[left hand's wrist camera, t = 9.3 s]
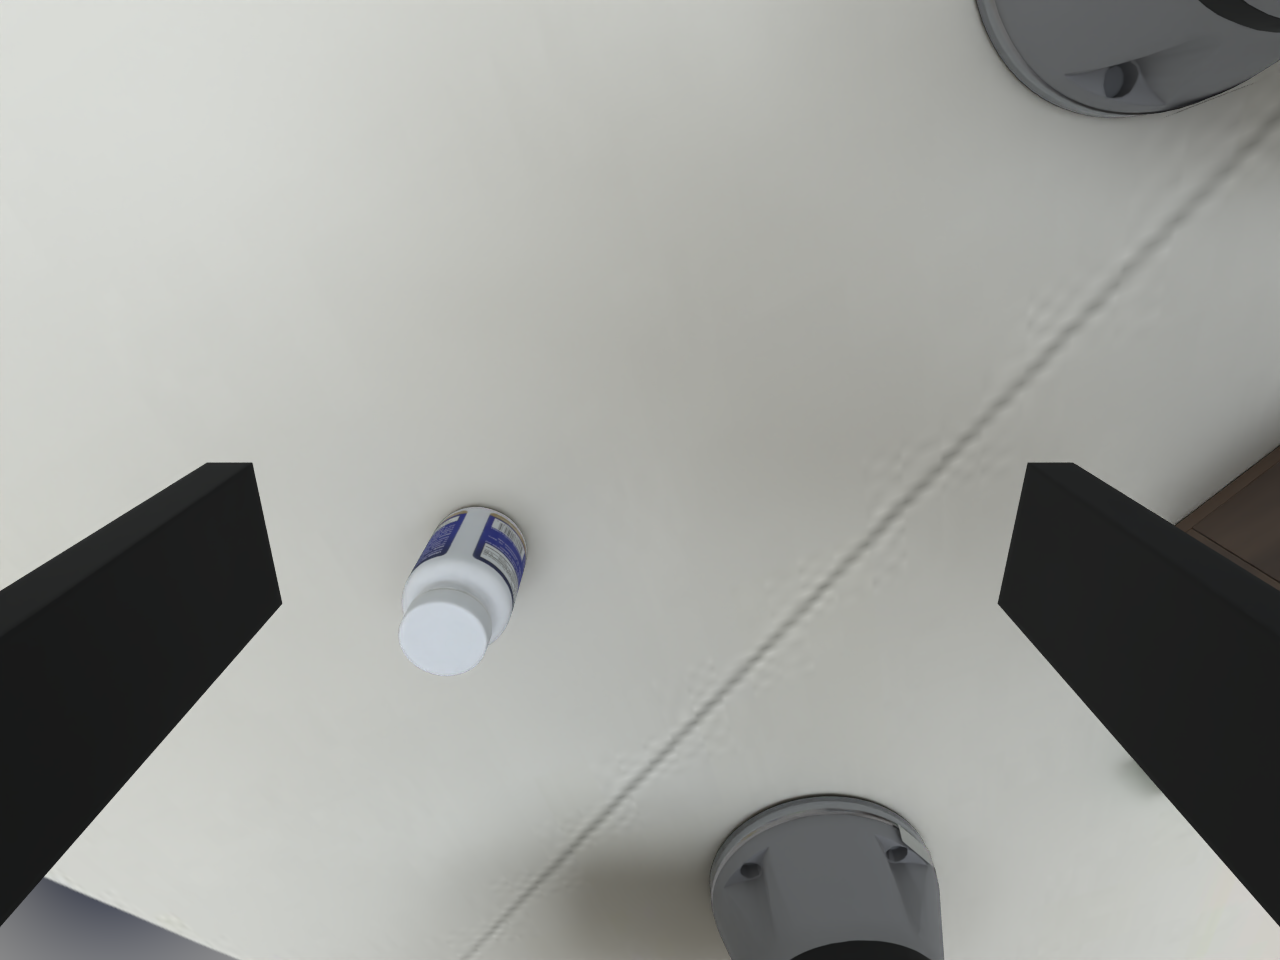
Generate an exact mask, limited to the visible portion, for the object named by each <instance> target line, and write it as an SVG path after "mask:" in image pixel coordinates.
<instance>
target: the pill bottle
mask: <svg viewBox="0 0 1280 960" xmlns="http://www.w3.org/2000/svg"><path fill="white" fill-rule="evenodd" d="M526 557H527V547H526V542H525V539H524V537H523V534H522V532H521V531H520V529H519V528H518V527H517V525H516V524H515V523H514V522H513V521H512V520H511V519H509V518H508V517H507V516H505V515H504V514H502V513H499V512H497V511H495V510H492V509H488V508H483V507H469V508H464V509H460V510H458V511H455V512H453V513H452V514H450V515H449V516H447V517H446V518H445V519H444V520H443V521H442V522H441V523H440V524H439V525H438V527H437V529H436V530H435V532H434V533H433V535H432V537H431V539H430V541H429V542H428V544H427V546H426V548H425V549H424V551H423V553H422V555H421V556H420V558H419V560H418V562H417V563H416V565H415V567H414V569H413V571H412V572H411V574H410V576H409V578H408V580H407V582H406V584H405V587H404V590H403V594H402V610H403V614H404V617H403V619H402V621H401V624H400V627H399V636H398V637H399V643H400V646H401V648H402V651H403V652H404V654H405V655H406V657H407V658H408V659H409V660H410V661H411V662H412V663H413V664H414V665H415V666H417V667H418V668H420V669H422V670H424V671H426V672H429V673H432V674H435V675H442V676H451V675H458V674H462V673H464V672H467V671H469V670H470V669H472V668H474V667H475V666H476V665H477V664H478V663H479V662H480V661H481V659H482V658H483V656H484V654H485V652H486V649H487V647H488V645H489V644H491V643H492V642H494V641H495V640H496V639H497V638H498V637H499V636H500V635H501V634H502V632H503V631H504V629H505V628H506V626H507V624H508V622H509V619H510V617H511V613H512V610H513V607H514V603H515V600H516V596H517V592H518V589H519V585H520V582H521V578H522V574H523V571H524V567H525V563H526Z"/></svg>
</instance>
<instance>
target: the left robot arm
mask: <svg viewBox="0 0 1280 960" xmlns="http://www.w3.org/2000/svg"><path fill="white" fill-rule="evenodd" d="M281 605H282V600H281V595H280V591H279V586H278V581H277V577H276V572H275V567H274V562H273V558H272V553H271V548H270V544H269V539H268V534H267V530H266V525H265V520H264V515H263V511H262V506H261V501H260V497H259V492H258V487H257V482H256V478H255V473H254V468H253V464H252V463H206V464H204V465H202V466H201V467H199V468H198V469H196V470H194V471H193V472H191V473H190V474H188V475H186V476H185V477H183V478H182V479H180V480H178V481H177V482H175V483H173V484H172V485H170V486H169V487H167V488H165V489H164V490H162V491H161V492H159V493H157V494H156V495H154V496H153V497H151V498H149V499H148V500H146V501H144V502H143V503H141V504H140V505H138V506H136V507H135V508H133V509H132V510H130V511H128V512H127V513H125V514H124V515H122V516H120V517H119V518H117V519H115V520H114V521H112V522H111V523H109V524H107V525H106V526H104V527H103V528H101V529H99V530H98V531H96V532H95V533H93V534H91V535H90V536H88V537H86V538H85V539H83V540H82V541H80V542H78V543H77V544H75V545H74V546H72V547H70V548H69V549H67V550H66V551H64V552H62V553H61V554H59V555H58V556H56V557H54V558H53V559H51V560H49V561H48V562H46V563H45V564H43V565H41V566H40V567H38V568H37V569H35V570H33V571H32V572H30V573H29V574H27V575H25V576H24V577H22V578H20V579H19V580H17V581H16V582H14V583H12V584H11V585H9V586H8V587H6V588H4V589H3V590H1V591H0V926H1V925H2V924H3V923H4V922H5V921H6V919H7V918H8V917H9V916H10V915H11V914H12V913H13V912H14V910H15V909H16V908H17V907H18V906H19V905H20V903H21V902H22V901H23V900H24V899H25V898H26V897H27V895H28V894H29V893H30V892H31V891H32V890H33V889H34V887H35V886H36V885H37V884H38V883H39V882H40V881H41V879H42V878H43V877H44V876H45V875H46V874H47V873H48V871H49V870H50V869H51V868H52V867H53V866H54V865H55V863H56V862H57V861H58V860H59V859H60V858H61V857H62V855H63V854H64V853H65V852H66V851H67V850H68V849H69V847H70V846H71V845H72V844H73V843H74V842H75V840H76V839H77V838H78V837H79V836H80V835H81V834H82V832H83V831H84V830H85V829H86V828H87V827H88V826H89V824H90V823H91V822H92V821H93V820H94V819H95V818H96V816H97V815H98V814H99V813H100V812H101V811H102V810H103V808H104V807H105V806H106V805H107V804H108V803H109V802H110V800H111V799H112V798H113V797H114V796H115V795H116V794H117V792H118V791H119V790H120V789H121V788H122V787H123V786H124V784H125V783H126V782H127V781H128V780H129V779H130V777H131V776H132V775H133V774H134V773H135V772H136V771H137V769H138V768H139V767H140V766H141V765H142V764H143V763H144V761H145V760H146V759H147V758H148V757H149V756H150V755H151V753H152V752H153V751H154V750H155V749H156V748H157V747H158V745H159V744H160V743H161V742H162V741H163V740H164V739H165V737H166V736H167V735H168V734H169V733H170V732H171V731H172V729H173V728H174V727H175V726H176V725H177V724H178V722H179V721H180V720H181V719H182V718H183V717H184V716H185V714H186V713H187V712H188V711H189V710H190V709H191V708H192V706H193V705H194V704H195V703H196V702H197V701H198V700H199V698H200V697H201V696H202V695H203V694H204V693H205V692H206V690H207V689H208V688H209V687H210V686H211V685H212V684H213V682H214V681H215V680H216V679H217V678H218V677H219V676H220V674H221V673H222V672H223V671H224V670H225V669H226V668H227V666H228V665H229V664H230V663H231V662H232V661H233V659H234V658H235V657H236V656H237V655H238V654H239V653H240V651H241V650H242V649H243V648H244V647H245V646H246V645H247V643H248V642H249V641H250V640H251V639H252V638H253V637H254V635H255V634H256V633H257V632H258V631H259V630H260V629H261V627H262V626H263V625H264V624H265V623H266V622H267V621H268V619H269V618H270V617H271V616H272V615H273V614H274V613H275V611H276V610H277V609H278V608H279V607H280V606H281ZM998 605H999V606H1000V607H1001V608H1002V609H1003V610H1004V611H1005V613H1006V614H1007V615H1008V616H1009V617H1010V618H1011V619H1012V621H1013V622H1014V623H1015V624H1016V625H1017V626H1018V627H1019V629H1020V630H1021V631H1022V632H1023V633H1024V634H1025V635H1026V637H1027V638H1028V639H1029V640H1030V641H1031V642H1032V643H1033V645H1034V646H1035V647H1036V648H1037V649H1038V650H1039V651H1040V653H1041V654H1042V655H1043V656H1044V657H1045V658H1046V659H1047V661H1048V662H1049V663H1050V664H1051V665H1052V666H1053V668H1054V669H1055V670H1056V671H1057V672H1058V673H1059V674H1060V676H1061V677H1062V678H1063V679H1064V680H1065V681H1066V682H1067V684H1068V685H1069V686H1070V687H1071V688H1072V689H1073V690H1074V692H1075V693H1076V694H1077V695H1078V696H1079V697H1080V698H1081V700H1082V701H1083V702H1084V703H1085V704H1086V705H1087V706H1088V708H1089V709H1090V710H1091V711H1092V712H1093V713H1094V714H1095V716H1096V717H1097V718H1098V719H1099V720H1100V721H1101V722H1102V724H1103V725H1104V726H1105V727H1106V728H1107V729H1108V731H1109V732H1110V733H1111V734H1112V735H1113V736H1114V737H1115V739H1116V740H1117V741H1118V742H1119V743H1120V744H1121V745H1122V747H1123V748H1124V749H1125V750H1126V751H1127V752H1128V753H1129V755H1130V756H1131V757H1132V758H1133V759H1134V760H1135V761H1136V763H1137V764H1138V765H1139V766H1140V767H1141V768H1142V769H1143V771H1144V772H1145V773H1146V774H1147V775H1148V776H1149V777H1150V779H1151V780H1152V781H1153V782H1154V783H1155V784H1156V786H1157V787H1158V788H1159V789H1160V790H1161V791H1162V792H1163V794H1164V795H1165V796H1166V797H1167V798H1168V799H1169V800H1170V802H1171V803H1172V804H1173V805H1174V806H1175V807H1176V808H1177V810H1178V811H1179V812H1180V813H1181V814H1182V815H1183V816H1184V818H1185V819H1186V820H1187V821H1188V822H1189V823H1190V824H1191V826H1192V827H1193V828H1194V829H1195V830H1196V831H1197V832H1198V834H1199V835H1200V836H1201V837H1202V838H1203V839H1204V840H1205V842H1206V843H1207V844H1208V845H1209V846H1210V847H1211V849H1212V850H1213V851H1214V852H1215V853H1216V854H1217V855H1218V857H1219V858H1220V859H1221V860H1222V861H1223V862H1224V863H1225V865H1226V866H1227V867H1228V868H1229V869H1230V870H1231V871H1232V873H1233V874H1234V875H1235V876H1236V877H1237V878H1238V879H1239V881H1240V882H1241V883H1242V884H1243V885H1244V886H1245V887H1246V889H1247V890H1248V891H1249V892H1250V893H1251V894H1252V895H1253V897H1254V898H1255V899H1256V900H1257V901H1258V902H1259V903H1260V905H1261V906H1262V907H1263V908H1264V909H1265V910H1266V912H1267V913H1268V914H1269V915H1270V916H1271V917H1272V918H1273V920H1274V921H1275V922H1276V923H1277V924H1278V925H1279V926H1280V591H1279V590H1277V589H1276V588H1274V587H1272V586H1271V585H1269V584H1268V583H1266V582H1264V581H1263V580H1261V579H1260V578H1258V577H1256V576H1255V575H1253V574H1251V573H1250V572H1248V571H1247V570H1245V569H1243V568H1242V567H1240V566H1239V565H1237V564H1235V563H1234V562H1232V561H1231V560H1229V559H1227V558H1226V557H1224V556H1222V555H1221V554H1219V553H1218V552H1216V551H1214V550H1213V549H1211V548H1210V547H1208V546H1206V545H1205V544H1203V543H1202V542H1200V541H1198V540H1197V539H1195V538H1194V537H1192V536H1190V535H1189V534H1187V533H1185V532H1184V531H1182V530H1181V529H1179V528H1177V527H1176V526H1174V525H1173V524H1171V523H1169V522H1168V521H1166V520H1165V519H1163V518H1161V517H1160V516H1158V515H1156V514H1155V513H1153V512H1152V511H1150V510H1148V509H1147V508H1145V507H1144V506H1142V505H1140V504H1139V503H1137V502H1136V501H1134V500H1132V499H1131V498H1129V497H1127V496H1126V495H1124V494H1123V493H1121V492H1119V491H1118V490H1116V489H1115V488H1113V487H1111V486H1110V485H1108V484H1107V483H1105V482H1103V481H1102V480H1100V479H1098V478H1097V477H1095V476H1094V475H1092V474H1090V473H1089V472H1087V471H1086V470H1084V469H1082V468H1081V467H1079V466H1078V465H1076V464H1074V463H1028V464H1027V468H1026V473H1025V478H1024V482H1023V487H1022V492H1021V497H1020V501H1019V506H1018V511H1017V515H1016V520H1015V525H1014V530H1013V534H1012V539H1011V544H1010V548H1009V553H1008V558H1007V562H1006V567H1005V572H1004V577H1003V581H1002V586H1001V591H1000V595H999V600H998ZM710 892H711V902H712V911H713V915H714V918H715V921H716V925H717V928H718V931H719V933H720V935H721V938H722V940H723V942H724V944H725V946H726V949H727V951H728V953H729V955H730V957H731V960H944V951H943V936H942V921H941V907H940V892H939V885H938V880H937V875H936V871H935V868H934V865H933V862H932V858H931V854H930V851H929V850H928V849H927V848H926V846H925V844H924V842H923V840H922V838H921V837H920V835H919V834H918V832H917V831H916V830H915V829H914V828H913V827H912V826H911V824H909V823H908V822H907V821H906V820H905V819H904V818H902V817H901V816H899V815H898V814H896V813H895V812H893V811H891V810H889V809H887V808H885V807H883V806H880V805H878V804H875V803H872V802H869V801H865V800H861V799H856V798H849V797H838V796H821V797H810V798H804V799H798V800H794V801H790V802H786V803H783V804H780V805H777V806H775V807H772V808H770V809H767V810H765V811H763V812H761V813H759V814H757V815H756V816H754V817H752V818H751V819H749V820H748V821H746V822H745V823H743V824H742V825H741V826H740V827H738V828H737V829H736V830H735V831H734V832H733V833H732V834H731V835H730V836H729V837H728V838H727V839H726V841H725V842H724V843H723V845H722V846H721V848H720V849H719V851H718V852H717V855H716V857H715V859H714V861H713V864H712V868H711V873H710Z"/></svg>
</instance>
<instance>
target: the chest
mask: <svg viewBox="0 0 1280 960" xmlns="http://www.w3.org/2000/svg"><path fill="white" fill-rule="evenodd" d="M1176 527H1177V528H1179V529H1181V530H1182V531H1184V532H1185V533H1187V534H1189V535H1190V536H1192V537H1194V538H1195V539H1197V540H1198V541H1200V542H1202V543H1203V544H1205V545H1206V546H1208V547H1210V548H1211V549H1213V550H1214V551H1216V552H1218V553H1219V554H1221V555H1222V556H1224V557H1226V558H1227V559H1229V560H1231V561H1232V562H1234V563H1235V564H1237V565H1239V566H1240V567H1242V568H1243V569H1245V570H1247V571H1248V572H1250V573H1251V574H1253V575H1255V576H1256V577H1258V578H1260V579H1261V580H1263V581H1264V582H1266V583H1268V584H1269V585H1271V586H1272V587H1274V588H1276V589H1277V590H1279V591H1280V446H1279V447H1278V448H1276V449H1275V450H1274V451H1272V452H1271V453H1270V454H1268V455H1267V456H1266V457H1264V458H1263V459H1262V460H1261V461H1259V462H1258V463H1257V464H1255V465H1254V466H1253V467H1251V468H1250V469H1249V470H1247V471H1246V472H1245V473H1244V474H1242V475H1241V476H1240V477H1238V478H1237V479H1236V480H1234V481H1233V482H1232V483H1230V484H1229V485H1228V486H1227V487H1225V488H1224V489H1223V490H1221V491H1220V492H1219V493H1217V494H1216V495H1215V496H1213V497H1212V498H1211V499H1210V500H1208V501H1207V502H1206V503H1204V504H1203V505H1202V506H1200V507H1199V508H1198V509H1196V510H1195V511H1194V512H1193V513H1191V514H1190V515H1189V516H1187V517H1186V518H1185V519H1183V520H1182V521H1181V522H1179V523H1178V524H1177V525H1176Z"/></svg>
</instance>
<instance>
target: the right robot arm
mask: <svg viewBox="0 0 1280 960" xmlns="http://www.w3.org/2000/svg"><path fill="white" fill-rule="evenodd" d="M977 5H978V8H979V11H980V14H981V18H982V21H983V24H984V26H985V28H986V31H987V33H988V35H989V38H990V40H991V41H992V43H993V45H994V47H995V49H996V50H997V52H998V54H999V55H1000V57H1001V58H1002V60H1003V61H1004V62H1005V64H1006V65H1007V66H1008V68H1009V69H1010V70H1011V71H1012V72H1013V73H1014V74H1015V76H1016V77H1017V78H1018V79H1019V80H1020V81H1021V82H1022V83H1024V84H1025V85H1026V86H1027V87H1028V88H1029V89H1031V90H1032V91H1033V92H1035V93H1036V94H1038V95H1039V96H1041V97H1042V98H1044V99H1045V100H1047V101H1049V102H1051V103H1053V104H1055V105H1057V106H1059V107H1061V108H1064V109H1067V110H1070V111H1073V112H1076V113H1081V114H1085V115H1090V116H1098V117H1131V116H1139V115H1147V114H1154V113H1161V112H1166V111H1170V110H1175V109H1179V108H1183V107H1186V106H1189V105H1192V104H1195V103H1198V102H1200V101H1203V100H1205V99H1207V98H1210V97H1213V96H1215V95H1218V94H1220V93H1222V92H1225V91H1227V90H1229V89H1231V88H1233V87H1235V86H1237V85H1239V84H1241V83H1243V82H1245V81H1246V80H1248V79H1250V78H1252V77H1253V76H1255V75H1256V74H1258V73H1260V72H1261V71H1263V70H1264V69H1266V68H1268V67H1269V66H1271V65H1272V64H1274V63H1276V62H1277V61H1279V60H1280V0H977ZM1252 84H1253V83H1252ZM1247 86H1248V85H1247ZM1244 87H1245V86H1244ZM1239 89H1240V88H1239ZM1236 90H1237V89H1236ZM1234 91H1235V90H1234ZM1231 92H1232V91H1231ZM1226 94H1227V93H1226ZM1223 95H1224V94H1223ZM1221 96H1222V95H1221ZM1218 97H1219V96H1218ZM1213 99H1214V98H1213ZM1210 100H1211V99H1210ZM1208 101H1209V100H1208ZM1205 102H1206V101H1205ZM1200 104H1201V103H1200ZM1197 105H1198V104H1197ZM1195 106H1196V105H1195ZM1192 107H1193V106H1192ZM1190 108H1191V107H1190ZM1187 109H1188V108H1187ZM1182 111H1183V110H1182ZM1179 112H1180V111H1179ZM1177 113H1178V112H1177ZM1174 114H1175V113H1174ZM1166 117H1167V116H1166Z"/></svg>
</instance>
